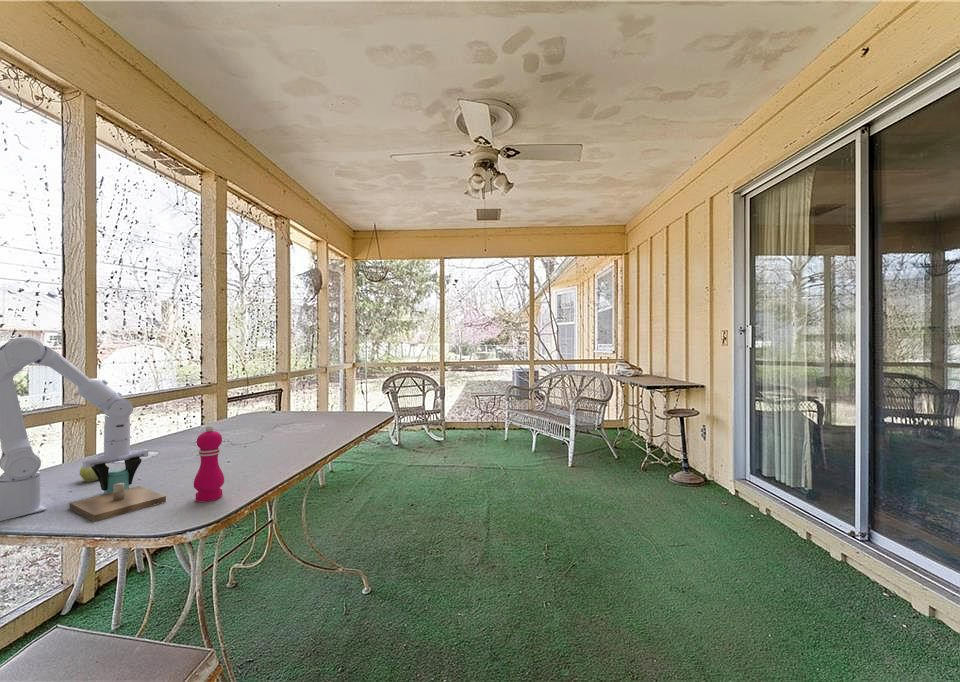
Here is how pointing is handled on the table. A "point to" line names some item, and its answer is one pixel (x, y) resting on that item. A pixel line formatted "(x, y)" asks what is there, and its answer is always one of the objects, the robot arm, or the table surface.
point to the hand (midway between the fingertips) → (116, 486)
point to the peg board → (116, 502)
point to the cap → (117, 479)
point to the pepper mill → (209, 467)
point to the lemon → (88, 474)
